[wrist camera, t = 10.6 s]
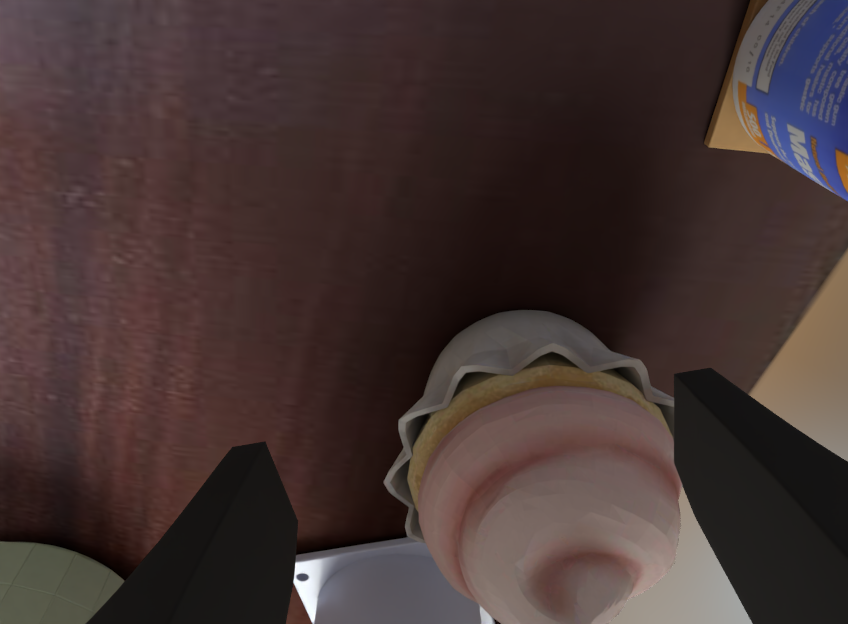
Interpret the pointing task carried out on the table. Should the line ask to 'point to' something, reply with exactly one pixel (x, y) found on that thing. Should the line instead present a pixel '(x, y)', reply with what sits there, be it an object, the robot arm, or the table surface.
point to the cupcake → (541, 471)
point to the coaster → (732, 102)
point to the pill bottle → (798, 87)
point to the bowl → (51, 584)
